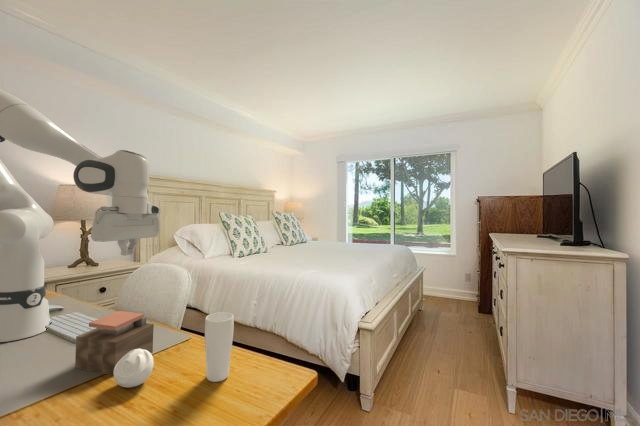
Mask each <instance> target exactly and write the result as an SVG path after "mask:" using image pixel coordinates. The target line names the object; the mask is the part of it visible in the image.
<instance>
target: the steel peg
mask: <svg viewBox="0 0 640 426" xmlns="http://www.w3.org/2000/svg"><path fill="white" fill-rule="evenodd" d="M133 324H134V322H133V323H130V324H128V325H126V326H124V327H122V328H119V329H117V330H108V329H101V328H100V333H106V334H113V335H118V334H120V333H122V332H124V331H126V330H129V329H131V328H133Z"/></svg>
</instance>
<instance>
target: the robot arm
mask: <svg viewBox="0 0 640 426" xmlns="http://www.w3.org/2000/svg"><path fill="white" fill-rule="evenodd" d="M6 140H7V141H9V142H10V143H12V144H15V145H16V146H18V147H20V148H23V149H26V150H29V151H31V152H36V153H40V154H43V155H47V156H51V157H54V158H58V159H61V160H64V161H66V162H68V163H70V164H72V165H74V166H75V168H74V171H73V174H72V175H73V181H74V183H75V184H74V185H75V186H76V187H77V188H78V189H79V190H81V191H82V192H86V193H88V194H94V195H103V196H111V206H100V208H97V209H96V210H95V212H94V218H93V220H92V221H93V222H92V225H91V231H90V232H91V233H90V238H91V240H92V241H94V242H97V243H98V242H99V243H105V242H116V241H117V245H118V247H119V248H120V255H121V256H131V255H134V254H135V249H136V247H137V246H138V244H139V239H148V238H151V239H152V238H157V237H158V236H159V234H160V232H161V231H160V230H161V217H160V216H159V215H160V214H161V207H160V206H158V205H156V204H154V203H152V202H149V195H148V188H149V185H150V165H149V164H150V163H149V159H147V157H145V155H143V154H140V153H138V152H137V153H136V152H134V151H130V150H126V149H118V150H116V151H115V152H114V153H112V154H110V155H107V156H104V157H102V156H100V155H98V153H95V152H94V151H92V150H91V149H89V148H87V147H86V146H85V145H83V144H81V143H80V142H78V141H77V140H76V139H74V137H72V136H71V135H70V134H68V133H67V132H65V131H64V130H63V129H62V128H60V127H59V126H58V125H56V124H55V123H54V122H53V121H52V120H51V119H50V118H48V117H47V116H45V115H44V114H43V113H41V112H40V111H39V110H38V109H36V108H34V107H33V106H32V105H31V104H29V103H27V102H25V101H24V100H22V99H21V98H19V97H17V96H16V95H13V94H11V93H9V92H8V91H6V90H5V91H4V90H3V89H1V88H0V143H3V142H5V141H6ZM53 228H54V219H53V217H52V216H51V215H50V214H48V212H46V211H45V210H44V209H43V208H42V206H40V205H39V203H37V201H35V199H34V198H33V197H32V196H31V195H30V194H29V193H28V192H27V191H25V189H24V188H23V187H22V186H21V185H20V184H19V182H18V180H16V178H15V177H14V176H13V174H12V173H11V172H10V170H9V169H8V167H7V166H6V164H4V162H3V161H2V159H1V158H0V343H5V342H13V341H17V340H23V339H26V338H30V337H35V336H37V335H39V334H41V333H44V332H45V331H47V330H46V328H45V326H46V325H48V324H49V321H50V320H51V319H52V318H50V308H49V300H48V299H47V298H45V296H46V295H47V285H46V284H45V267H46V265H45V264H46V263H45V259H44V258H43V256H42V251H41V248H40V240H41V239H44V238H45V237H47V236H49V234H50V233H51V232H52V230H53Z"/></svg>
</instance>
